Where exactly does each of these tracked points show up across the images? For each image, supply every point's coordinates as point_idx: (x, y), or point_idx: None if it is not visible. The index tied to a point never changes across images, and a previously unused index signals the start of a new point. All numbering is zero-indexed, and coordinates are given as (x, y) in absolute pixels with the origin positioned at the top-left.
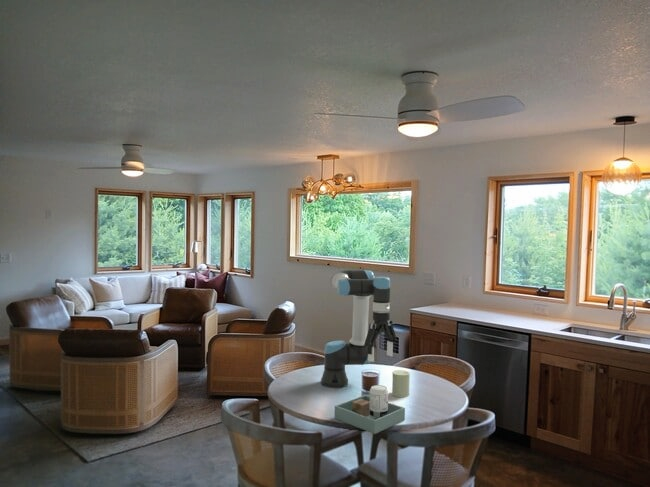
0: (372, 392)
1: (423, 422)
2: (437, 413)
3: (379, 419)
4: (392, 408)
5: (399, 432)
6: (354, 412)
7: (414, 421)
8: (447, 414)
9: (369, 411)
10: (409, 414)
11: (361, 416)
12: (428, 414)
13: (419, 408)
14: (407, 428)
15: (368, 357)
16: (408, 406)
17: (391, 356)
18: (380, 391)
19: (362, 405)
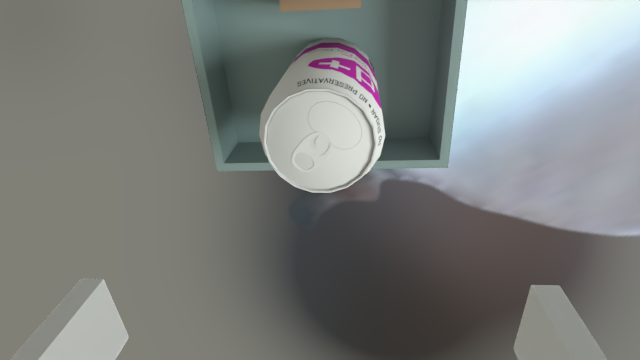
0: (260, 131)
1: (467, 202)
2: (604, 191)
3: (248, 169)
4: (441, 93)
5: (318, 195)
6: (198, 35)
7: (452, 175)
8: (616, 221)
9: (291, 63)
10: (514, 118)
11: (201, 93)
12: (568, 172)
13: (625, 105)
14: (371, 194)
15: (51, 322)
16: (624, 48)
17: (514, 346)
18: (287, 179)
19: (283, 11)
